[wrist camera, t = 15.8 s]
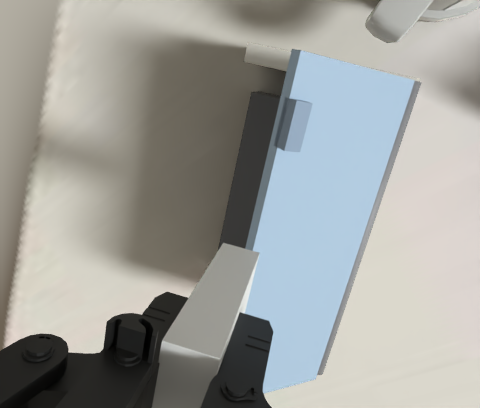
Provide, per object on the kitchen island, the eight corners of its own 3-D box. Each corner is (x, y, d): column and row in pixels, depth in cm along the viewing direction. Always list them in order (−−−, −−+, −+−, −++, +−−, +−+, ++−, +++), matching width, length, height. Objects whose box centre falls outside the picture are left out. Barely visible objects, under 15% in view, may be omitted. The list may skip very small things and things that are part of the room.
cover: (286, 48, 16) (309, 51, 15) (411, 81, 20) (437, 85, 19) (207, 392, 22) (219, 414, 21) (317, 364, 26) (333, 381, 25)
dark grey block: (258, 91, 28) (251, 92, 25) (315, 104, 28) (314, 107, 25) (221, 262, 32) (211, 280, 30) (270, 276, 32) (265, 295, 29)
